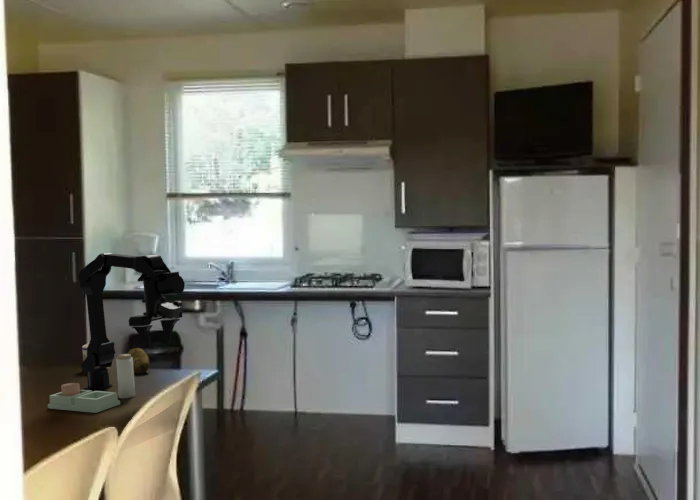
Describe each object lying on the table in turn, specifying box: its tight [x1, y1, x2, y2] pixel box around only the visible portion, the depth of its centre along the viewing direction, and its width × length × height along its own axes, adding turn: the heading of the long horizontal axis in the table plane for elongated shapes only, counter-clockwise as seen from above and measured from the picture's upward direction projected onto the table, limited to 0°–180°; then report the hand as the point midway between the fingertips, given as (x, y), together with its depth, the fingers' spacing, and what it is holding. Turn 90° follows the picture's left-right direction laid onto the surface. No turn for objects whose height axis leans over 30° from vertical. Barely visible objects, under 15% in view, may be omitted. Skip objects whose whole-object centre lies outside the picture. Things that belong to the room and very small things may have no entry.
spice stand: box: [47, 382, 121, 414], centre depth 243 cm, size 19×10×6 cm, turn 63°
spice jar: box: [115, 353, 136, 399], centre depth 253 cm, size 5×5×13 cm
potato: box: [127, 347, 150, 374], centre depth 291 cm, size 8×13×8 cm, turn 11°
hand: (158, 344), depth 254 cm, fingers open, 9 cm apart
